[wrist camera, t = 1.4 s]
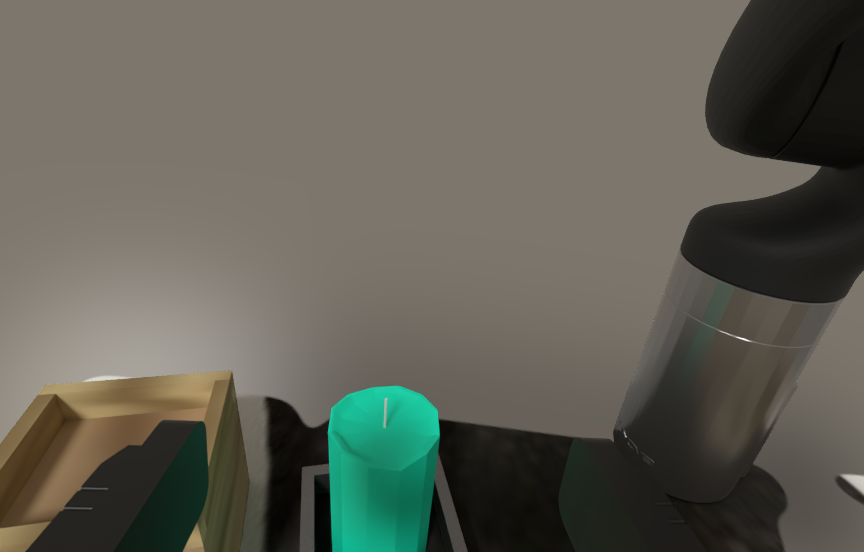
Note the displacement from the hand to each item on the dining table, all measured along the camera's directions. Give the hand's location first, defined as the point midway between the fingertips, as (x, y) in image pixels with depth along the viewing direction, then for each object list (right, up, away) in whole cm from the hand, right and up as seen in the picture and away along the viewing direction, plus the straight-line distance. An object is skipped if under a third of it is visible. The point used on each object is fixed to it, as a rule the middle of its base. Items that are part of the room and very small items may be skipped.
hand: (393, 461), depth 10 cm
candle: (-3, -13, +19) cm, 23 cm away
